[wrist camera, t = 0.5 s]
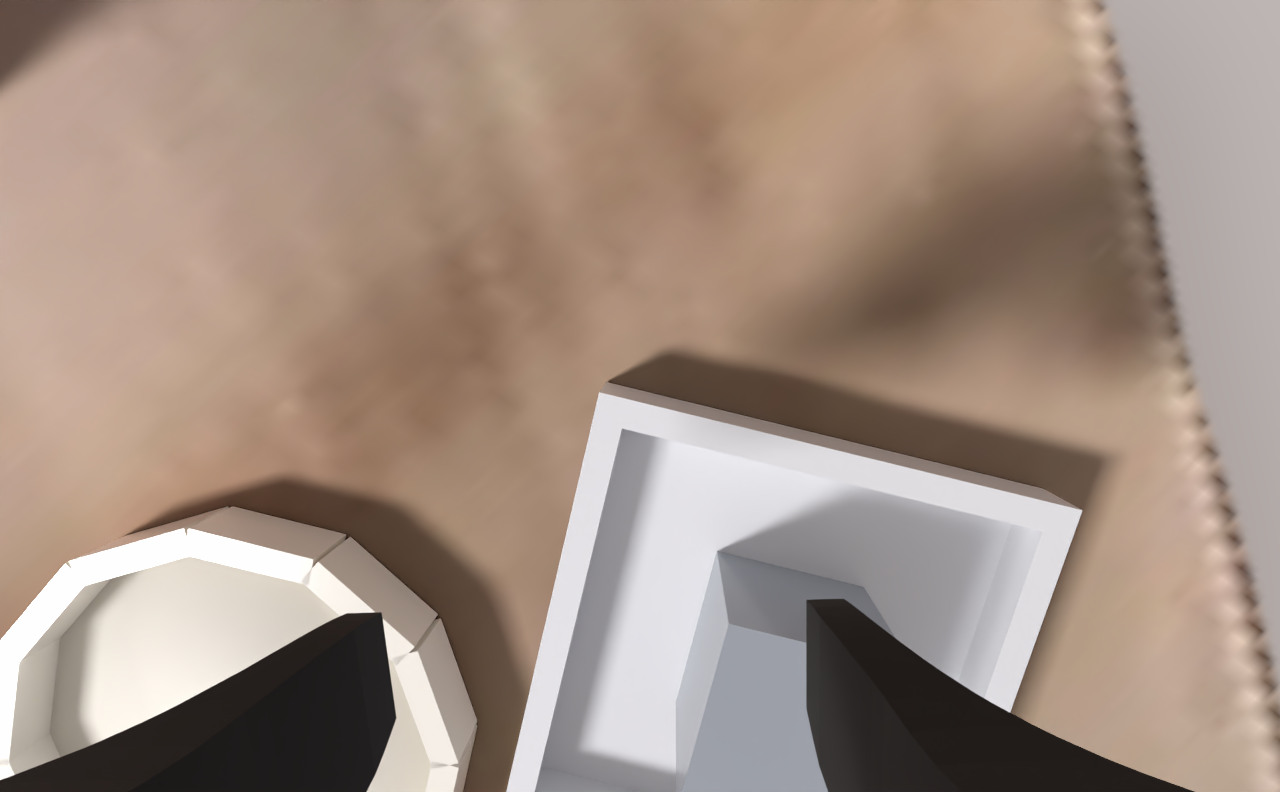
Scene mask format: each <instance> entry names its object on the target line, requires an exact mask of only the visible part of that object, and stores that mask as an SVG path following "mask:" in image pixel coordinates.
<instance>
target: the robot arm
mask: <svg viewBox="0 0 1280 792" xmlns="http://www.w3.org/2000/svg"><path fill="white" fill-rule="evenodd" d="M806 709H807V714H808V718H809V723H810V728H811V732H812V737H813V741H814V746H815V750H816V754H817V759H818V763H819V767H820V770H821V772H822V775H823V778H824V781H825V784H826V787H827V790H828V792H1194V791H1191V790H1188V789H1185V788H1183V787H1180V786H1177V785H1174V784H1171V783H1169V782H1166V781H1163V780H1160V779H1157V778H1155V777H1152V776H1149V775H1146V774H1143V773H1141V772H1138V771H1136V770H1133V769H1131V768H1128V767H1126V766H1123V765H1121V764H1118V763H1116V762H1113V761H1111V760H1108V759H1106V758H1103V757H1101V756H1099V755H1097V754H1094V753H1092V752H1090V751H1088V750H1085V749H1083V748H1081V747H1079V746H1076V745H1074V744H1072V743H1070V742H1067V741H1065V740H1063V739H1061V738H1058V737H1056V736H1054V735H1052V734H1050V733H1048V732H1046V731H1044V730H1042V729H1040V728H1038V727H1036V726H1034V725H1032V724H1030V723H1028V722H1026V721H1024V720H1023V719H1021V718H1019V717H1017V716H1015V715H1013V714H1011V713H1010V712H1008V711H1006V710H1004V709H1002V708H1000V707H999V706H997V705H995V704H993V703H991V702H990V701H988V700H986V699H984V698H983V697H981V696H979V695H978V694H976V693H974V692H973V691H971V690H970V689H968V688H967V687H965V686H963V685H962V684H960V683H959V682H957V681H956V680H954V679H953V678H951V677H949V676H948V675H946V674H945V673H943V672H942V671H940V670H939V669H937V668H936V667H934V666H933V665H932V664H930V663H929V662H927V661H926V660H924V659H923V658H922V657H920V656H919V655H917V654H916V653H915V652H913V651H912V650H911V649H909V648H908V647H907V646H905V645H904V644H902V643H901V642H900V641H898V640H897V639H896V638H895V637H893V636H892V635H891V634H889V633H888V632H887V631H885V630H884V629H883V628H882V627H880V626H879V625H878V624H876V623H875V622H874V621H873V620H871V619H870V618H869V617H868V616H866V615H865V614H864V613H862V612H861V611H860V610H859V609H857V608H856V607H855V606H853V605H852V604H851V603H849V602H848V601H846V600H845V599H813V600H806ZM395 721H396V711H395V704H394V697H393V690H392V683H391V675H390V668H389V661H388V654H387V647H386V640H385V633H384V625H383V618H382V612H374V613H346V614H344V615H342V616H339V617H337V618H335V619H333V620H331V621H329V622H327V623H325V624H323V625H321V626H319V627H317V628H316V629H314V630H312V631H310V632H308V633H307V634H305V635H303V636H301V637H299V638H298V639H296V640H294V641H292V642H291V643H289V644H287V645H286V646H284V647H282V648H280V649H279V650H277V651H275V652H273V653H272V654H270V655H268V656H266V657H265V658H263V659H261V660H259V661H258V662H256V663H254V664H252V665H251V666H249V667H247V668H245V669H244V670H242V671H240V672H238V673H237V674H235V675H233V676H231V677H229V678H227V679H225V680H224V681H222V682H220V683H218V684H216V685H214V686H212V687H210V688H209V689H207V690H205V691H203V692H201V693H199V694H197V695H195V696H194V697H192V698H190V699H188V700H186V701H184V702H182V703H181V704H179V705H177V706H175V707H173V708H171V709H169V710H167V711H165V712H163V713H161V714H159V715H157V716H154V717H152V718H150V719H148V720H146V721H144V722H142V723H140V724H138V725H135V726H133V727H131V728H129V729H126V730H124V731H122V732H120V733H117V734H115V735H113V736H111V737H109V738H106V739H104V740H102V741H100V742H97V743H95V744H92V745H90V746H88V747H85V748H83V749H80V750H78V751H75V752H72V753H70V754H67V755H65V756H62V757H59V758H57V759H54V760H52V761H49V762H46V763H44V764H41V765H39V766H36V767H34V768H31V769H28V770H26V771H23V772H21V773H18V774H15V775H13V776H10V777H8V778H5V779H2V780H0V792H367V790H368V788H369V786H370V784H371V782H372V780H373V778H374V776H375V774H376V772H377V769H378V767H379V764H380V762H381V759H382V757H383V754H384V751H385V749H386V746H387V743H388V741H389V738H390V735H391V732H392V729H393V726H394V724H395Z"/></svg>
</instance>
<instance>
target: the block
mask: <svg viewBox="0 0 1280 792" xmlns="http://www.w3.org/2000/svg"><path fill="white" fill-rule="evenodd" d="M813 599H845V600H846V601H848V602H849V603H851V604H852V605H853V606H855V607H856V608H857V609H859V610H860V611H861V612H862V613H864V614H865V615H866V616H868V617H869V618H870V619H871V620H873V621H874V622H875V623H876V624H878V625H879V626H880V627H882V628H883V629H884V630H885V631H887V632H888V633H889V634H891V635H892V636H893V637H895V636H894V635H893V633H892V631H891V630H890V628H889V627H888V625H887V623H886V622H885V620H884V619H883V617H882V615H881V614H880V612H879V611H878V609H877V608H876V606H875V604H874V603H873V601H872V600H871V598H870V596H869V595H868V593H867V592H866V590H865V588H864V587H862V586H858V585H854V584H850V583H846V582H842V581H838V580H834V579H830V578H825V577H821V576H817V575H813V574H809V573H805V572H801V571H797V570H793V569H789V568H785V567H781V566H777V565H773V564H768V563H764V562H760V561H756V560H752V559H748V558H744V557H740V556H736V555H732V554H728V553H724V552H720V551H717V552H716V556H715V559H714V563H713V567H712V571H711V574H710V578H709V582H708V585H707V589H706V593H705V596H704V600H703V604H702V607H701V611H700V615H699V618H698V622H697V626H696V630H695V633H694V637H693V641H692V644H691V648H690V652H689V655H688V659H687V663H686V666H685V670H684V674H683V677H682V681H681V685H680V689H679V692H678V696H677V700H676V792H828V790H827V787H826V784H825V781H824V778H823V775H822V772H821V770H820V767H819V763H818V759H817V754H816V750H815V746H814V741H813V737H812V732H811V728H810V723H809V718H808V714H807V709H806V600H813Z"/></svg>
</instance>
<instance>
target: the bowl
mask: <svg viewBox="0 0 1280 792" xmlns="http://www.w3.org/2000/svg"><path fill="white" fill-rule="evenodd" d="M345 538H346V534H343V533H339V532H335V531H331V530H327V529H323V528H319V527H315V526H311V525H307V524H303V523H298V522H294V521H290V520H286V519H282V518H278V517H274V516H270V515H266V514H262V513H258V512H254V511H250V510H246V509H242V508H238V507H234V506H232V507H230V508H228V506H227V507H224V508H220V509H217V510H213V511H210V512H206V513H203V514H199V515H196V516H192V517H189V518H185V519H182V520H178V521H175V522H171V523H168V524H164V525H161V526H157V527H154V528H151V529H147V530H144V531H140V532H137V533H133V534H130V535H126V536H123V537H121V538H118V539H116V540H114V541H112V542H110V543H108V544H105V545H103V546H101V547H99V548H97V549H94V550H92V551H90V552H88V553H86V554H84V555H81V556H79V557H77V558H75V559H73V560H70V561H69V562H68V563H65V564H64V565H63V567H62V568H61V569H60V570H59V571H58V573H57V574H56V575H55V576H54V577H53V579H52V580H51V581H50V582H49V583H48V585H47V586H46V587H45V588H44V589H43V590H42V592H41V593H40V594H39V595H38V596H37V598H36V599H35V600H34V601H33V602H32V604H31V605H30V606H29V607H28V608H27V609H26V611H25V612H24V613H23V614H22V615H21V617H20V618H19V619H18V620H17V621H16V623H15V624H14V625H13V626H12V627H11V628H10V630H9V631H8V632H7V633H6V634H5V636H4V637H3V638H2V639H1V640H0V780H2V779H5V778H8V777H10V776H13V775H15V774H18V773H21V772H23V771H26V770H28V769H31V768H34V767H36V766H39V765H41V764H44V763H46V762H49V761H52V760H54V759H57V758H59V757H62V756H65V755H67V754H70V753H72V752H75V751H78V750H80V749H83V748H85V747H88V746H90V745H92V744H95V743H97V742H100V741H102V740H104V739H106V738H109V737H111V736H113V735H115V734H117V733H120V732H122V731H124V730H126V729H129V728H131V727H133V726H135V725H138V724H140V723H142V722H144V721H146V720H148V719H150V718H152V717H154V716H157V715H159V714H161V713H163V712H165V711H167V710H169V709H171V708H173V707H175V706H177V705H179V704H181V703H182V702H184V701H186V700H188V699H190V698H192V697H194V696H195V695H197V694H199V693H201V692H203V691H205V690H207V689H209V688H210V687H212V686H214V685H216V684H218V683H220V682H222V681H224V680H225V679H227V678H229V677H231V676H233V675H235V674H237V673H238V672H240V671H242V670H244V669H245V668H247V667H249V666H251V665H252V664H254V663H256V662H258V661H259V660H261V659H263V658H265V657H266V656H268V655H270V654H272V653H273V652H275V651H277V650H279V649H280V648H282V647H284V646H286V645H287V644H289V643H291V642H292V641H294V640H296V639H298V638H299V637H301V636H303V635H305V634H307V633H308V632H310V631H312V630H314V629H316V628H317V627H319V626H321V625H323V624H325V623H327V622H329V621H331V620H333V619H335V618H337V617H339V616H342V615H344V614H346V613H374V612H382V618H383V625H384V633H385V640H386V647H387V654H388V661H389V668H390V675H391V683H392V690H393V697H394V704H395V711H396V721H395V724H394V726H393V729H392V732H391V735H390V738H389V741H388V743H387V746H386V749H385V751H384V754H383V757H382V759H381V762H380V764H379V767H378V769H377V772H376V774H375V776H374V778H373V780H372V782H371V784H370V786H369V788H368V790H367V792H463V789H464V784H465V780H466V775H467V771H468V766H469V762H470V757H471V753H472V748H473V744H474V739H475V735H476V730H477V726H478V725H476V723H477V719H476V716H475V713H474V710H473V707H472V705H471V702H470V699H469V696H468V693H467V691H466V688H465V685H464V682H463V679H462V677H461V674H460V671H459V668H458V665H457V662H456V660H455V657H454V654H453V651H452V648H451V646H450V643H449V640H448V637H447V634H446V632H445V629H444V626H443V623H442V620H441V618H439V619H436V620H434V619H435V618H436V617H437V615H438V614H437V613H436V612H435V611H434V610H433V609H432V608H430V607H429V606H428V605H427V604H426V603H425V602H424V601H423V600H421V599H420V598H419V597H418V596H417V595H416V594H415V593H414V592H412V591H411V590H410V589H409V588H408V587H407V586H406V585H405V584H403V583H402V582H401V581H400V580H399V579H398V578H397V577H395V576H394V575H393V574H392V573H391V572H390V571H389V570H388V569H386V568H385V567H384V566H383V565H382V564H381V563H380V562H379V561H377V560H376V559H375V558H374V557H373V556H372V555H371V554H370V553H368V552H367V551H366V550H365V549H364V548H363V547H362V546H361V545H359V544H358V543H357V542H356V541H355V540H354V539H353V538H352V537H349V538H348V539H347V540H345Z"/></svg>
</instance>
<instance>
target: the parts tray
mask: <svg viewBox="0 0 1280 792" xmlns="http://www.w3.org/2000/svg"><path fill="white" fill-rule="evenodd" d="M1082 511H1083V510H1081V509H1079V508H1077V507H1076V506H1074V505H1072V504H1070V503H1068V502H1067V501H1065V500H1063V499H1061V498H1059V497H1058V496H1056V495H1054V494H1052V493H1050V492H1048V491H1047V490H1045V489H1043V488H1039V487H1035V486H1031V485H1027V484H1022V483H1018V482H1014V481H1010V480H1006V479H1002V478H998V477H994V476H990V475H986V474H981V473H977V472H973V471H969V470H965V469H961V468H957V467H953V466H949V465H945V464H941V463H936V462H932V461H928V460H924V459H920V458H916V457H912V456H908V455H904V454H900V453H895V452H891V451H887V450H883V449H879V448H875V447H871V446H867V445H863V444H859V443H855V442H850V441H846V440H842V439H838V438H834V437H830V436H826V435H822V434H818V433H814V432H809V431H805V430H801V429H797V428H793V427H789V426H785V425H781V424H777V423H773V422H768V421H764V420H760V419H756V418H752V417H748V416H744V415H740V414H736V413H732V412H728V411H723V410H719V409H715V408H711V407H707V406H703V405H699V404H695V403H691V402H687V401H682V400H678V399H674V398H670V397H666V396H662V395H658V394H654V393H650V392H646V391H642V390H637V389H633V388H629V387H625V386H621V385H617V384H613V383H609V382H606V383H605V385H604V386H603V388H602V389H601V391H600V392H599V396H598V400H597V404H596V409H595V413H594V417H593V421H592V426H591V430H590V434H589V439H588V443H587V447H586V452H585V456H584V460H583V464H582V469H581V473H580V477H579V482H578V486H577V490H576V494H575V499H574V503H573V507H572V512H571V516H570V520H569V525H568V529H567V533H566V537H565V542H564V546H563V550H562V555H561V559H560V563H559V567H558V572H557V576H556V580H555V585H554V589H553V593H552V598H551V602H550V606H549V610H548V615H547V619H546V623H545V628H544V632H543V636H542V641H541V645H540V649H539V653H538V658H537V662H536V666H535V671H534V675H533V679H532V683H531V688H530V692H529V696H528V701H527V705H526V709H525V714H524V718H523V722H522V726H521V731H520V735H519V739H518V744H517V748H516V752H515V756H514V761H513V765H512V769H511V774H510V778H509V782H508V787H507V791H506V792H676V700H677V696H678V692H679V689H680V685H681V681H682V677H683V674H684V670H685V666H686V663H687V659H688V655H689V652H690V648H691V644H692V641H693V637H694V633H695V630H696V626H697V622H698V618H699V615H700V611H701V607H702V604H703V600H704V596H705V593H706V589H707V585H708V582H709V578H710V574H711V571H712V567H713V563H714V559H715V556H716V552H717V551H720V552H724V553H728V554H732V555H736V556H740V557H744V558H748V559H752V560H756V561H760V562H764V563H768V564H773V565H777V566H781V567H785V568H789V569H793V570H797V571H801V572H805V573H809V574H813V575H817V576H821V577H825V578H830V579H834V580H838V581H842V582H846V583H850V584H854V585H858V586H862V587H864V588H865V590H866V592H867V593H868V595H869V596H870V598H871V600H872V601H873V603H874V604H875V606H876V608H877V609H878V611H879V612H880V614H881V615H882V617H883V619H884V620H885V622H886V623H887V625H888V627H889V628H890V630H891V631H892V633H893V635H894V636H895V638H896V639H897V640H898V641H900V642H901V643H902V644H904V645H905V646H907V647H908V648H909V649H911V650H912V651H913V652H915V653H916V654H917V655H919V656H920V657H922V658H923V659H924V660H926V661H927V662H929V663H930V664H932V665H933V666H934V667H936V668H937V669H939V670H940V671H942V672H943V673H945V674H946V675H948V676H949V677H951V678H953V679H954V680H956V681H957V682H959V683H960V684H962V685H963V686H965V687H967V688H968V689H970V690H971V691H973V692H974V693H976V694H978V695H979V696H981V697H983V698H984V699H986V700H988V701H990V702H991V703H993V704H995V705H997V706H999V707H1000V708H1002V709H1004V710H1006V711H1008V712H1010V711H1011V709H1012V706H1013V703H1014V700H1015V698H1016V695H1017V692H1018V689H1019V686H1020V684H1021V681H1022V678H1023V675H1024V672H1025V670H1026V667H1027V664H1028V661H1029V658H1030V656H1031V653H1032V650H1033V647H1034V645H1035V642H1036V639H1037V636H1038V633H1039V631H1040V628H1041V625H1042V622H1043V619H1044V617H1045V614H1046V611H1047V608H1048V605H1049V603H1050V600H1051V597H1052V594H1053V592H1054V589H1055V586H1056V583H1057V580H1058V578H1059V575H1060V572H1061V569H1062V566H1063V564H1064V561H1065V558H1066V555H1067V553H1068V550H1069V547H1070V544H1071V541H1072V539H1073V536H1074V533H1075V530H1076V527H1077V525H1078V522H1079V519H1080V516H1081V513H1082Z"/></svg>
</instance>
